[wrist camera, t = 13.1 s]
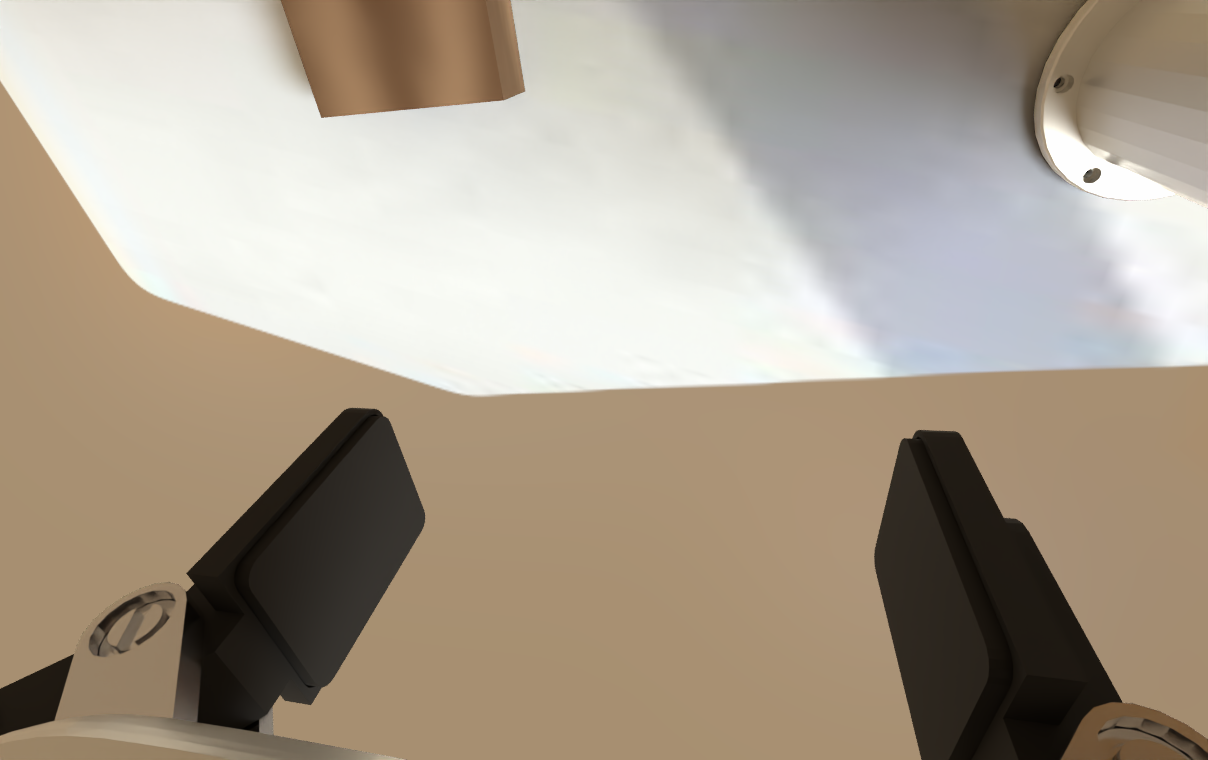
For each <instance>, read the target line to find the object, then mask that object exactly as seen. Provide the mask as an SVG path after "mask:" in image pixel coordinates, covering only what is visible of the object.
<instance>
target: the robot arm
mask: <svg viewBox="0 0 1208 760" xmlns="http://www.w3.org/2000/svg"><path fill="white" fill-rule="evenodd" d="M1058 78H1061V82H1060V84H1059V85H1058V86H1056V87H1054V84H1055V82H1056V80H1057V79H1058ZM1034 124H1035V135H1036V138H1037V141H1038V144H1039V147H1040V150H1041V153H1042V155H1043V157H1044V158H1045V159H1046V161H1047V162H1048V164H1049V165H1050V167H1051V168H1052V170H1053V171H1054V172H1056V173H1057V174H1058V175H1059V176H1060V177H1062V178H1063V179H1064V180H1065V181H1066V182H1068V183H1069V184H1071V185H1073V186H1075V187H1077V188H1078V189H1080V190H1082V191H1085V192H1088V193H1091V194H1093V195H1096V196H1099V197H1102V198H1108V199H1116V200H1124V201H1133V200H1152V199H1157V198H1163V197H1168V196H1173V195H1178V196H1180V197H1183V198H1185V199H1187V200H1190V201H1192V202H1194V203H1197V204H1199V205H1201V206H1203V207H1206V208H1208V0H1088V1H1087V2H1086V3H1085V4H1084V5H1083V6H1082V7H1081V8H1080V9H1079V10H1078V11H1077V13H1076V14H1075V16H1074V17H1073V18H1072V20H1071V21H1070V23H1069V24H1068V26H1067V27H1066V28H1065V30H1064V31H1063V33H1062V34H1061V35H1060V37H1059V38H1058V40H1057V42H1056V44H1055V46H1054V48H1053V50H1052V52H1051V54H1050V56H1049V58H1048V60H1047V62H1046V64H1045V67H1044V70H1043V73H1042V76H1041V79H1040V82H1039V85H1038V88H1037V93H1036V100H1035V108H1034ZM1087 170H1089V171H1088V173H1087V174H1086V175H1084V173H1085V172H1086V171H1087ZM1083 175H1084V176H1083ZM424 523H425V512H424V509H423V506H422V504H421V501H420V499H419V496H418V493H417V491H416V488H415V485H414V483H413V480H412V478H411V475H410V472H409V470H408V467H407V465H406V462H405V459H404V457H403V454H402V452H401V449H400V447H399V444H398V441H397V439H396V436H395V433H394V431H393V428H392V426H391V423H390V421H389V419H388V418H386V417H384V416H383V415H382V413H381V412H380V411H379V410H377V409H365V408H349V409H346V410H344V411H343V412H342V413H341V414H340V415H339V416H338V417H337V418H336V419H335V420H334V421H333V422H332V423H331V424H330V425H329V426H328V427H327V428H326V430H324V431H323V432H322V433H321V434H320V436H319V437H318V438H317V439H316V440H315V441H314V442H313V443H312V444H311V445H310V446H309V447H308V448H307V449H306V450H305V451H304V452H303V453H302V454H301V455H300V456H299V457H298V458H297V459H296V460H295V461H294V462H293V464H292V465H291V466H290V467H289V468H288V469H287V470H286V471H285V472H284V473H283V474H282V475H281V476H280V477H279V478H278V479H277V480H276V481H275V482H274V483H273V484H272V485H271V486H270V487H269V489H267V491H265V493H264V494H263V495H262V496H261V497H260V498H259V499H258V500H257V501H256V502H255V503H254V504H253V505H252V506H251V507H250V508H249V509H248V510H247V512H245V513H244V514H243V515H242V516H241V517H240V519H238V521H237V522H236V523H235V524H234V525H233V526H232V527H231V528H230V529H229V530H228V531H227V532H226V533H225V534H224V535H223V536H222V537H221V538H220V539H219V540H218V541H217V542H216V543H215V544H214V545H213V546H212V547H211V549H210V550H209V551H208V552H207V553H206V554H205V555H204V556H203V557H202V558H201V559H200V560H199V561H198V562H197V563H196V564H195V565H194V566H193V567H192V568H191V569H190V570H189V571H188V572H187V575H188V576H189V577H190V579H191V580H192V581H193V582H194V585H193V586H192V587H191V588H190V589H189V590H188V591H187V592H186V591H185V590H184V589H183V588H182V587H181V586H180V585H179V584H175V583H170V582H166V583H156V584H152V585H149V586H146V587H143V588H140V589H138V590H136V591H134V592H132V593H130V594H128V595H126V596H124V597H122V598H121V599H119V600H118V601H116V602H115V603H113V604H112V605H110V606H109V607H107V608H106V609H105V610H104V611H103V612H102V613H101V614H99V615H98V616H97V617H96V618H95V619H94V620H93V621H92V622H91V624H90V625H89V626H88V627H87V628H86V630H85V631H84V632H83V634H82V636H81V638H80V640H79V642H78V644H77V647H76V650H75V653H74V654H73V655H71V656H69V657H67V658H65V659H62V660H61V661H58V662H56V663H54V664H52V665H50V666H48V667H46V668H43V669H41V670H39V671H37V672H35V673H33V674H31V675H29V676H26V677H24V678H22V679H20V680H18V681H16V682H14V683H12V684H9V685H8V686H5V687H3V688H1V689H0V760H405V759H400V758H394V757H389V756H384V755H378V754H373V753H367V752H362V751H357V750H351V749H346V748H340V747H335V746H329V745H324V744H318V743H312V742H308V741H302V740H297V739H291V738H285V737H280V736H274V735H273V708H272V706H273V705H274V703H275V702H276V700H277V699H278V697H279V696H280V695H281V696H282V698H283V699H284V700H285V701H290V702H296V703H302V704H308V705H311V704H312V703H313V701H314V699H315V698H316V696H317V694H318V693H319V691H320V689H321V688H322V687H325V686H326V685H328V684H329V683H330V682H331V681H332V679H333V678H334V677H335V675H336V673H337V671H338V670H339V668H340V666H341V665H342V663H343V661H344V660H345V658H346V657H347V655H348V653H349V652H350V650H351V648H352V647H353V645H354V643H355V641H356V640H357V638H358V636H359V635H360V633H361V631H362V630H363V628H364V626H365V625H366V623H367V621H368V620H369V618H370V616H371V615H372V613H373V611H374V610H375V608H376V606H377V605H378V603H379V601H380V599H381V598H382V596H383V594H384V593H385V591H386V590H387V588H388V586H389V585H390V583H391V581H392V579H393V578H394V576H395V575H396V573H397V571H398V570H399V568H400V566H401V565H402V563H403V561H404V559H405V558H406V556H407V554H408V553H409V551H410V549H411V548H412V546H413V544H414V543H415V541H416V539H417V538H418V536H419V534H420V533H421V531H422V529H423V527H424ZM874 557H875V569H876V574H877V578H878V582H879V586H880V590H881V595H882V599H883V603H884V607H885V611H886V615H887V619H888V623H889V628H890V632H891V635H892V640H893V644H894V648H895V652H896V656H897V660H898V665H899V669H900V672H901V677H902V681H903V685H904V689H905V693H906V698H907V702H908V705H909V710H910V713H911V718H912V722H913V726H914V730H915V735H916V739H917V743H918V747H919V751H920V755H921V759H922V760H1208V739H1207V738H1205V737H1204V736H1203V735H1201V734H1200V733H1198V732H1197V731H1195V730H1194V729H1193V728H1191V727H1190V726H1188V725H1187V724H1185V723H1182V722H1181V721H1179V720H1177V719H1174V718H1172V717H1170V716H1168V715H1166V714H1164V713H1162V712H1160V711H1157V710H1154V709H1150V708H1147V707H1144V706H1140V705H1137V704H1133V703H1122V700H1121V699H1120V697H1119V695H1118V693H1117V691H1116V690H1115V688H1114V686H1113V685H1112V682H1111V680H1110V679H1109V677H1108V675H1107V673H1106V671H1105V670H1104V668H1103V666H1102V664H1101V662H1100V660H1099V659H1098V657H1097V655H1096V653H1095V651H1094V650H1093V648H1092V646H1091V644H1090V642H1089V640H1088V639H1087V637H1086V635H1085V633H1084V631H1083V629H1082V628H1081V626H1080V624H1079V622H1078V620H1077V619H1076V617H1075V615H1074V613H1073V611H1072V610H1071V608H1070V606H1069V604H1068V602H1067V600H1066V599H1065V597H1064V595H1063V593H1062V591H1061V589H1060V588H1059V586H1058V584H1057V582H1056V580H1055V579H1054V577H1053V575H1052V573H1051V571H1050V569H1049V568H1048V566H1047V564H1046V562H1045V560H1044V558H1043V557H1042V555H1041V553H1040V551H1039V550H1038V548H1037V546H1036V544H1035V542H1034V540H1033V538H1032V537H1031V535H1030V533H1029V531H1028V530H1027V529H1026V527H1025V526H1024V525H1023V523H1021V522H1020V521H1018V520H1017V519H1010V518H1003V516H1002V514H1001V512H1000V510H999V508H998V506H997V504H996V502H995V501H994V498H993V497H992V495H991V493H990V491H989V489H988V487H987V485H986V483H985V481H984V479H983V477H982V475H981V473H980V471H979V470H978V467H977V466H976V464H975V462H974V460H973V458H972V456H971V454H970V452H969V450H968V448H967V446H966V444H965V442H964V440H963V438H962V437H961V435H960V434H959V433H958V432H954V431H929V430H918V431H916V432H915V434H914V436H913V438H912V439H905V438H904V439H903V440H902V441H901V443H900V447H899V451H898V455H897V459H896V463H895V467H894V471H893V476H892V480H891V484H890V488H889V493H888V497H887V501H886V505H885V509H884V513H883V518H882V522H881V526H880V530H879V534H878V539H877V543H876V547H875V556H874Z"/></svg>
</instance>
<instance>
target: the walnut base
mask: <svg viewBox="0 0 1208 760" xmlns="http://www.w3.org/2000/svg"><path fill="white" fill-rule="evenodd" d="M281 2H282V5H283V8H284V11H285V14H286V16H287V19H288V22H289V25H290V28H291V31H292V34H293V37H294V40H295V43H296V46H297V48H298V51H299V54H300V57H301V60H302V63H303V66H304V69H305V72H306V75H307V77H308V80H309V83H310V86H311V89H312V92H313V95H314V98H315V101H316V104H317V106H318V109H319V112H320V115H321V118H324V117H334V116H345V115H355V114H366V113H376V112H386V111H397V110H407V109H418V108H428V107H439V106H449V105H460V104H470V103H480V102H491V101H501V100H506V99H508V98H510V97H513V96H515V95H517V94H520V93H522V92H524V91H525V88H524V82H523V76H522V69H521V63H520V57H519V51H518V44H517V38H516V32H515V26H514V20H513V13H512V7H511V1H510V0H281Z"/></svg>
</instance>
